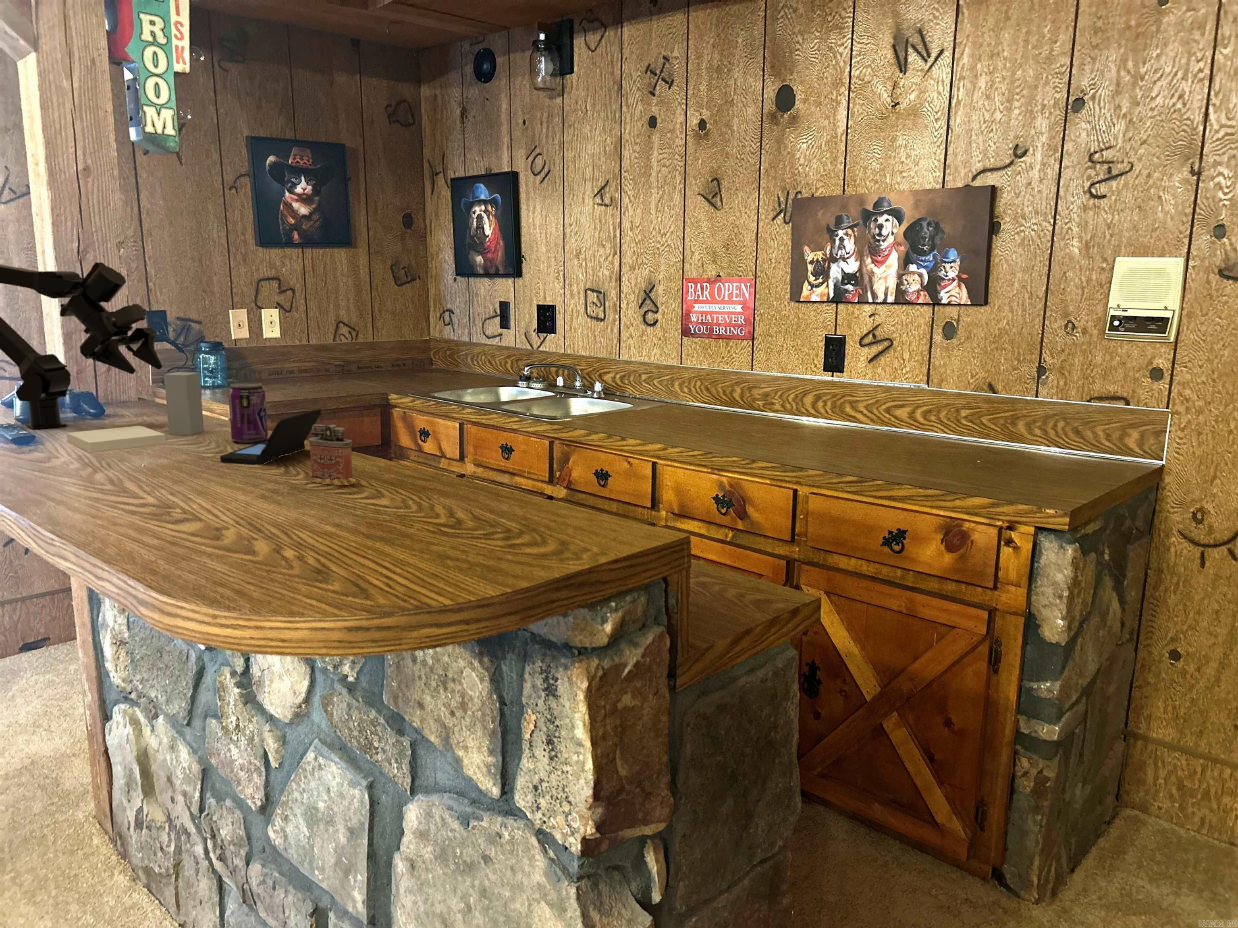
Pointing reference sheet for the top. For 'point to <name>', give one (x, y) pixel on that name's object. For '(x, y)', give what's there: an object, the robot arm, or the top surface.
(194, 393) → the tall block
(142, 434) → the slab
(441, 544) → the top surface
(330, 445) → the lighter
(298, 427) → the game console
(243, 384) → the beverage can
